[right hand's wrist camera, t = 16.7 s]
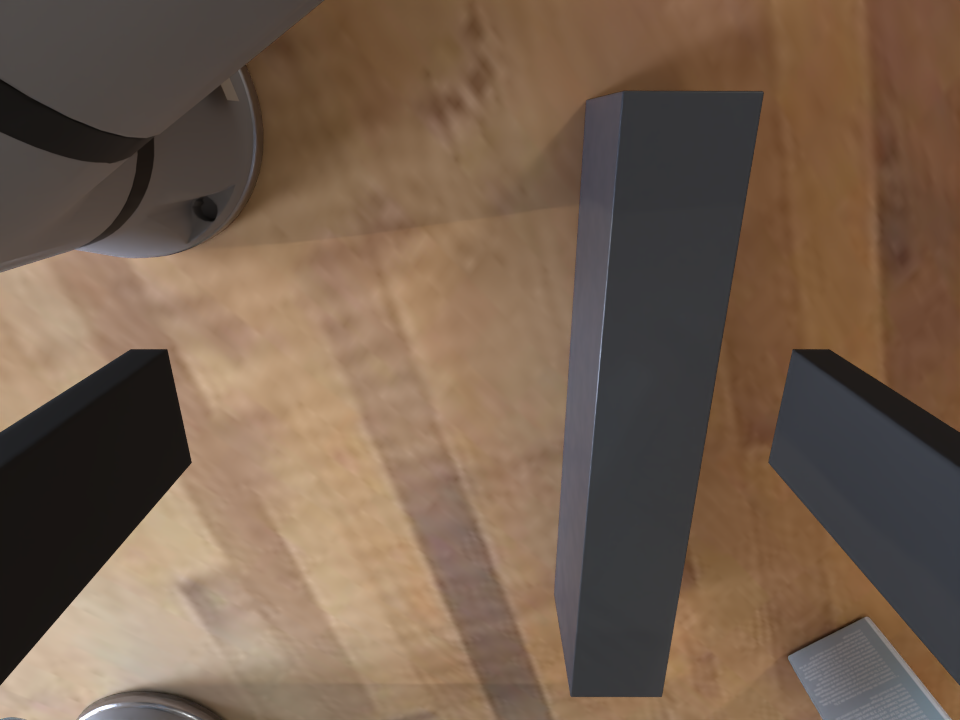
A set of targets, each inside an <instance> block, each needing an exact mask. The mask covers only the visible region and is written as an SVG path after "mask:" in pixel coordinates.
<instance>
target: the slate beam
mask: <svg viewBox="0 0 960 720" xmlns="http://www.w3.org/2000/svg"><path fill="white" fill-rule="evenodd" d="M763 94H764V92H763V91H621V92H617V93H613V94H609V95H605V96H601V97H597V98H593V99H589V100H587V101H586V112H585V127H584V143H583V158H582V173H581V189H580V204H579V220H578V235H577V250H576V266H575V281H574V297H573V312H572V327H571V343H570V358H569V374H568V389H567V404H566V420H565V435H564V451H563V466H562V481H561V497H560V512H559V528H558V543H557V558H556V574H555V589H554V596H555V603H556V609H557V615H558V621H559V628H560V634H561V640H562V646H563V652H564V659H565V665H566V671H567V677H568V684H569V690H570V696H571V697H662V693H663V687H664V681H665V675H666V669H667V664H668V658H669V652H670V646H671V640H672V634H673V628H674V622H675V616H676V610H677V604H678V598H679V592H680V587H681V581H682V575H683V569H684V563H685V557H686V551H687V545H688V539H689V533H690V527H691V521H692V515H693V509H694V504H695V498H696V492H697V486H698V480H699V474H700V468H701V462H702V456H703V450H704V444H705V438H706V432H707V426H708V421H709V415H710V409H711V403H712V397H713V391H714V385H715V379H716V373H717V367H718V361H719V355H720V349H721V343H722V338H723V332H724V326H725V320H726V314H727V308H728V302H729V296H730V290H731V284H732V278H733V272H734V266H735V260H736V255H737V249H738V243H739V237H740V231H741V225H742V219H743V213H744V207H745V201H746V195H747V189H748V183H749V177H750V172H751V166H752V160H753V154H754V148H755V142H756V136H757V130H758V124H759V118H760V112H761V106H762V100H763Z"/></svg>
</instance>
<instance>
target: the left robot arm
mask: <svg viewBox="0 0 960 720" xmlns="http://www.w3.org/2000/svg"><path fill="white" fill-rule="evenodd" d="M0 720H25V719H21V718H16V717H8V718H4V719H0ZM77 720H222V719H221V718H220V717H218V716H217V715H215V714H214V713H213V712H211V711H209V710H208V709H206V708H204V707H203V706H201V705H199V704H197V703H194V702H192V701H189V700H187V699H184V698H181V697H178V696H174V695H170V694H165V693H158V692H148V691H135V692H124V693H119V694H114V695H111V696H107V697H105V698H102V699H100V700H98V701H96V702H94V703H93V704H91V705H90V706H88V707H87V708H86V709H85V710H84V711H83V712H82V713H81V714H80V716H79V717H78V718H77Z"/></svg>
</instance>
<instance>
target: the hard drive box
mask: <svg viewBox="0 0 960 720" xmlns="http://www.w3.org/2000/svg"><path fill="white" fill-rule="evenodd" d="M788 660H789V661H790V663H791V665H792V667H793V669H794V671H795V672H796V674H797V676H798V678H799V679H800V681H801V683H802V685H803V686H804V688H805V690H806V692H807V693H808V695H809V697H810V698H811V700H812V702H813V704H814V705H815V707H816V709H817V710H818V712H819V714H820V715H821V717H822V719H823V720H952V719H951V718H950V717H949V715H948V714H947V713H946V712H945V710H944V709H943V708H942V707H941V705H940V704H939V703H938V702H937V700H936V699H935V698H934V697H933V695H932V694H931V693H930V692H929V690H928V689H927V688H926V687H925V685H924V684H923V683H922V682H921V680H920V679H919V678H918V677H917V675H916V674H915V673H914V672H913V670H912V669H911V668H910V667H909V666H908V664H907V663H906V662H905V661H904V659H903V658H902V657H901V656H900V654H899V653H898V652H897V651H896V649H895V648H894V647H893V646H892V644H891V643H890V642H889V641H888V639H887V638H886V637H885V636H884V635H883V633H882V632H881V631H880V630H879V629H878V627H877V626H876V625H875V624H874V623H873V621H872V620H871V619H870V618H869V617H864V618H862V619H860V620H858V621H856V622H854V623H852V624H851V625H849V626H847V627H845V628H843V629H841V630H839V631H837V632H835V633H833V634H831V635H829V636H827V637H825V638H823V639H821V640H819V641H817V642H815V643H813V644H811V645H809V646H807V647H805V648H803V649H801V650H799V651H797V652H795V653H793V654H791V655H789V656H788Z"/></svg>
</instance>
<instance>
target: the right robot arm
mask: <svg viewBox="0 0 960 720" xmlns="http://www.w3.org/2000/svg"><path fill="white" fill-rule="evenodd" d="M323 1H324V0H0V272H3V271H7V270H10V269H13V268H16V267H20V266H23V265H26V264H29V263H33V262H36V261H39V260H42V259H45V258H49V257H52V256H55V255H58V254H62V253H65V252H68V251H71V250H80V251H86V252H92V253H98V254H104V255H110V256H116V257H124V258H148V257H160V256H166V255H171V254H175V253H179V252H182V251H184V250H187V249H190V248H192V247H194V246H197V245H199V244H202V243H204V242H205V241H207V240H209V239H211V238H213V237H214V236H216V235H217V234H219V233H220V232H222V231H223V230H224V229H225V228H226V227H227V226H229V225H230V224H231V223H232V222H233V220H234V219H235V218H236V217H237V216H238V215H239V213H240V212H241V211H242V209H243V208H244V207H245V205H246V203H247V201H248V200H249V198H250V196H251V194H252V192H253V189H254V187H255V184H256V181H257V178H258V175H259V171H260V166H261V161H262V153H263V125H262V117H261V111H260V105H259V101H258V98H257V94H256V90H255V87H254V85H253V82H252V79H251V76H250V74H249V72H248V70H247V67H246V65H245V64H247V63H248V62H249V61H250V60H252V59H253V58H254V57H255V56H256V55H258V54H259V53H260V52H261V51H263V50H264V49H265V48H266V47H267V46H269V45H270V44H271V43H272V42H274V41H275V40H276V39H277V38H279V37H280V36H281V35H282V34H283V33H285V32H286V31H287V30H288V29H290V28H291V27H292V26H293V25H294V24H296V23H297V22H298V21H299V20H301V19H302V18H303V17H304V16H306V15H307V14H308V13H309V12H310V11H312V10H313V9H314V8H315V7H317V6H318V5H319V4H320V3H322V2H323ZM191 463H192V462H191V457H190V453H189V448H188V443H187V439H186V434H185V429H184V425H183V420H182V415H181V411H180V406H179V402H178V397H177V392H176V388H175V383H174V378H173V374H172V369H171V364H170V360H169V355H168V350H167V349H131V350H129V351H127V352H126V353H124V354H123V355H121V356H120V357H118V358H117V359H115V360H113V361H112V362H110V363H109V364H107V365H106V366H104V367H102V368H101V369H99V370H98V371H96V372H95V373H93V374H91V375H90V376H88V377H87V378H85V379H84V380H82V381H80V382H79V383H77V384H76V385H74V386H73V387H71V388H69V389H68V390H66V391H65V392H63V393H62V394H60V395H58V396H57V397H55V398H54V399H52V400H51V401H49V402H47V403H46V404H44V405H43V406H41V407H40V408H38V409H36V410H35V411H33V412H32V413H30V414H29V415H27V416H25V417H24V418H22V419H21V420H19V421H18V422H16V423H14V424H13V425H11V426H10V427H8V428H7V429H5V430H3V431H2V432H0V685H1V684H2V683H3V682H4V680H5V679H6V678H7V677H8V676H9V675H10V673H11V672H12V671H13V670H14V669H15V668H16V667H17V665H18V664H19V663H20V662H21V661H22V660H23V658H24V657H25V656H26V655H27V654H28V653H29V651H30V650H31V649H32V648H33V647H34V646H35V644H36V643H37V642H38V641H39V640H40V639H41V637H42V636H43V635H44V634H45V633H46V632H47V630H48V629H49V628H50V627H51V626H52V625H53V623H54V622H55V621H56V620H57V619H58V618H59V616H60V615H61V614H62V613H63V612H64V611H65V609H66V608H67V607H68V606H69V605H70V604H71V602H72V601H73V600H74V599H75V598H76V597H77V596H78V594H79V593H80V592H81V591H82V590H83V589H84V587H85V586H86V585H87V584H88V583H89V582H90V580H91V579H92V578H93V577H94V576H95V575H96V573H97V572H98V571H99V570H100V569H101V568H102V566H103V565H104V564H105V563H106V562H107V561H108V559H109V558H110V557H111V556H112V555H113V554H114V552H115V551H116V550H117V549H118V548H119V547H120V545H121V544H122V543H123V542H124V541H125V540H126V538H127V537H128V536H129V535H130V534H131V533H132V531H133V530H134V529H135V528H136V527H137V526H138V525H139V523H140V522H141V521H142V520H143V519H144V518H145V516H146V515H147V514H148V513H149V512H150V511H151V509H152V508H153V507H154V506H155V505H156V504H157V502H158V501H159V500H160V499H161V498H162V497H163V495H164V494H165V493H166V492H167V491H168V490H169V488H170V487H171V486H172V485H173V484H174V483H175V481H176V480H177V479H178V478H179V477H180V476H181V474H182V473H183V472H184V471H185V470H186V469H187V467H188V466H189V465H190V464H191ZM768 463H769V464H770V465H771V466H772V467H773V469H774V470H775V471H776V472H777V473H778V474H779V476H780V477H781V478H782V479H783V480H784V481H785V483H786V484H787V485H788V486H789V487H790V488H791V490H792V491H793V492H794V493H795V494H796V495H797V497H798V498H799V499H800V500H801V501H802V502H803V504H804V505H805V506H806V507H807V508H808V509H809V511H810V512H811V513H812V514H813V515H814V516H815V518H816V519H817V520H818V521H819V522H820V523H821V525H822V526H823V527H824V528H825V529H826V530H827V531H828V533H829V534H830V535H831V536H832V537H833V538H834V540H835V541H836V542H837V543H838V544H839V545H840V547H841V548H842V549H843V550H844V551H845V552H846V554H847V555H848V556H849V557H850V558H851V559H852V561H853V562H854V563H855V564H856V565H857V566H858V568H859V569H860V570H861V571H862V572H863V573H864V575H865V576H866V577H867V578H868V579H869V580H870V582H871V583H872V584H873V585H874V586H875V587H876V589H877V590H878V591H879V592H880V593H881V594H882V596H883V597H884V598H885V599H886V600H887V601H888V602H889V604H890V605H891V606H892V607H893V608H894V609H895V611H896V612H897V613H898V614H899V615H900V616H901V618H902V619H903V620H904V621H905V622H906V623H907V625H908V626H909V627H910V628H911V629H912V630H913V632H914V633H915V634H916V635H917V636H918V637H919V639H920V640H921V641H922V642H923V643H924V644H925V646H926V647H927V648H928V649H929V650H930V651H931V653H932V654H933V655H934V656H935V657H936V658H937V660H938V661H939V662H940V663H941V664H942V665H943V667H944V668H945V669H946V670H947V671H948V672H949V673H950V675H951V676H952V677H953V678H954V679H955V680H956V682H957V683H958V684H959V685H960V432H958V431H957V430H955V429H953V428H952V427H950V426H949V425H947V424H946V423H944V422H942V421H941V420H939V419H938V418H936V417H935V416H933V415H931V414H930V413H928V412H927V411H925V410H924V409H922V408H920V407H919V406H917V405H916V404H914V403H913V402H911V401H909V400H908V399H906V398H905V397H903V396H902V395H900V394H898V393H897V392H895V391H894V390H892V389H891V388H889V387H887V386H886V385H884V384H883V383H881V382H880V381H878V380H876V379H875V378H873V377H872V376H870V375H869V374H867V373H865V372H864V371H862V370H861V369H859V368H858V367H856V366H854V365H853V364H851V363H850V362H848V361H847V360H845V359H843V358H842V357H840V356H839V355H837V354H836V353H834V352H833V351H831V350H829V349H793V350H792V355H791V360H790V364H789V369H788V374H787V378H786V383H785V388H784V392H783V397H782V402H781V406H780V411H779V415H778V420H777V425H776V429H775V434H774V439H773V443H772V448H771V453H770V457H769V462H768Z"/></svg>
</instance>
